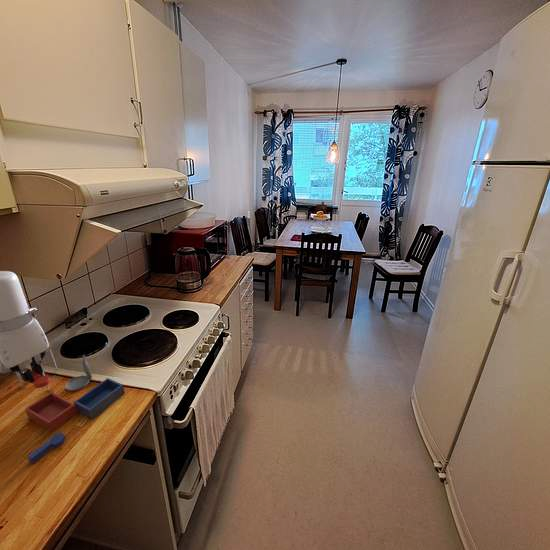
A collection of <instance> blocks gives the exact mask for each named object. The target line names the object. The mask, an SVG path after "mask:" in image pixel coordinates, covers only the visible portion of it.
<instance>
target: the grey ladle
mask: <svg viewBox="0 0 550 550" xmlns="http://www.w3.org/2000/svg"><path fill="white" fill-rule="evenodd" d="M82 367H83V370H84V373H85V375H78V376H75V377H72V378H71V379H70V380H68V381H67V382H66V383H65V386H64V387H65V390H66V391H69V392H76V391H79V390H82V389H84V388H85V387H86V386H87V385H88V384H89V382H90V380H92V379H93V375H92V372H91V369H90V365H89V363H88V361H87V360H86V355H85V354H83V355H82Z"/></svg>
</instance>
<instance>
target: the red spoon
mask: <svg viewBox="0 0 550 550" xmlns="http://www.w3.org/2000/svg"><path fill="white" fill-rule="evenodd" d="M29 370H30V371H31V373H32V376H33V380H34V382H33V383H32V384H33V386H34V388H35V389H41V388H44V387H47V385H48V386H49V384H50V383H51V377H50V376H49V375H45V376H41V375H40V374H38V373H36V372H34V371H32V368H31V369H29Z"/></svg>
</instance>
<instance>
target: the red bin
mask: <svg viewBox="0 0 550 550" xmlns="http://www.w3.org/2000/svg"><path fill="white" fill-rule="evenodd" d="M24 411H25V414H26V416H27V418H28V419H29V420H31V421H33V422H34V423H36V424H38V425H39V426H41V427H43V428H44V429H46V430H48V431H49V432H51V433H53V432H54V431H56V430H57V429H59V428H60V427H61V426H63V425H64V424H65V423H66V422H68V421H69V420H70V419H72V418H73V417H74V416H76V415H77V414H78V413H79V412H78V411H77V409H76V406H75V404H74V402H72V401H70V400H68V399H67V398H64V397H62V396H60V395H58V394H57V393H54V392H52V391H51V392H49V393H47V394H46V395H44V396H43V397H42V398H41V397H40V398H39V399H38V400H37V401H35V402H34V403H31V404H30V405H29V406H27V407H25V408H24Z"/></svg>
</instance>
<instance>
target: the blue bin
mask: <svg viewBox="0 0 550 550" xmlns="http://www.w3.org/2000/svg"><path fill="white" fill-rule="evenodd" d="M125 393H126V390H125V387H124V384H122V383H120V382H118V381H117V380H116V381H115V380H113V379H111V378H109V377H107V378H105V379H104V380H103V381H101V382H100V383H98V384H97V385H95V386H94V387H93V388H91V389H89V390H88V391H87V392H85V393H84V394H82V396H80V397H78V398H77V399H75V400H74V401H73V404H75V406H76V409H77V412H78V413H80V414H81V415H83V416H85V417H87V418H88V419H91V420H94V418H96V417H97V416H98V415H100V414H101V413H102V412H104V411H105V410H106V409H108V407H110V405H112V404H114V403H115V402H116V401H117V400H118V399H120V398H121V397H122V396H123V395H124V394H125Z"/></svg>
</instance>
